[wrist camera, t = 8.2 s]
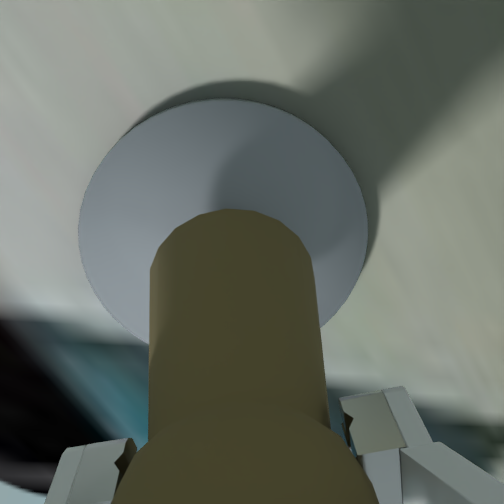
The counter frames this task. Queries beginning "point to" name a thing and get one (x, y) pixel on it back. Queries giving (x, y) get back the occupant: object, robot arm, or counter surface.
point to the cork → (238, 374)
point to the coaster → (218, 197)
